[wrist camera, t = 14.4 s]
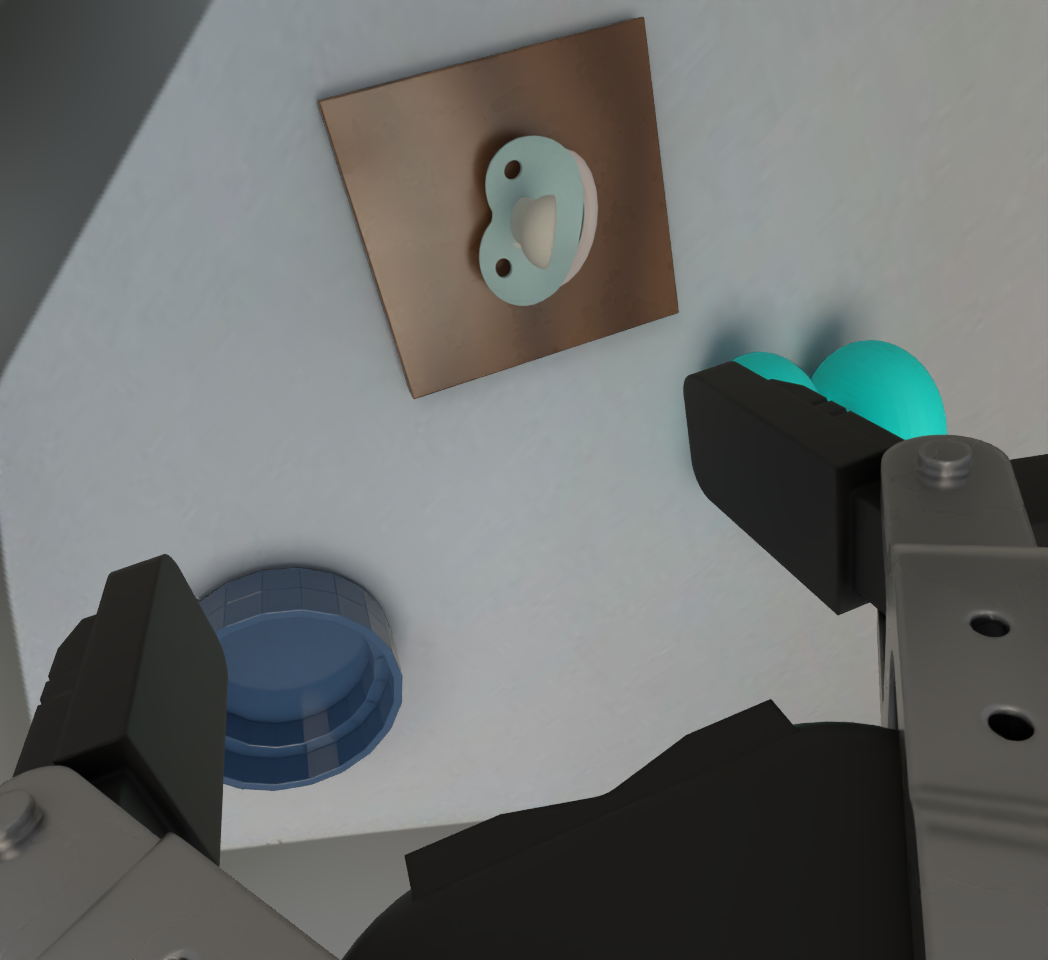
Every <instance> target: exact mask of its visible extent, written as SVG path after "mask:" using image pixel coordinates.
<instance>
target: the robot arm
mask: <svg viewBox="0 0 1048 960" xmlns="http://www.w3.org/2000/svg"><path fill="white" fill-rule="evenodd" d="M683 392H684V401H685V410H686V418H687V426H688V435H689V443H690V452H691V460H692V466H693V470H694V473H695V476H696V479H697V481H698V484H699V486H700V488H701V489H702V491H703V492H704V494H705V495H706V497H707V498H708V499H709V500H710V501H711V502H712V503H714V504H715V505H716V506H717V507H718V508H719V509H720V510H721V511H722V512H724V513H725V514H726V515H727V516H728V517H729V518H730V519H731V520H732V521H734V522H735V523H736V524H737V525H738V526H739V527H740V528H741V529H742V530H744V531H745V532H746V533H747V534H748V535H749V536H750V537H751V538H752V539H754V540H755V541H756V542H757V543H758V544H759V545H760V546H761V547H762V548H764V549H765V550H766V551H767V552H768V553H769V554H770V555H771V556H772V557H774V558H775V559H776V560H777V561H778V562H779V563H780V564H781V565H782V566H784V567H785V568H786V569H787V570H788V571H789V572H790V573H791V574H792V575H794V576H795V577H796V578H797V579H798V580H799V581H800V582H801V583H802V584H804V585H805V586H806V587H807V588H808V589H809V590H810V591H811V592H812V593H814V594H815V595H816V596H817V597H818V598H819V599H820V600H821V601H822V602H824V603H825V604H826V605H827V606H828V607H829V608H830V609H831V610H832V611H834V612H835V613H836V614H837V615H840V614H843V613H845V612H848V611H850V610H852V609H855V608H857V607H860V606H862V605H864V604H867V603H869V602H870V603H871V604H873V605H874V606H875V607H876V608H877V644H878V667H879V689H880V712H881V727H880V726H876V725H869V724H861V723H853V722H814V723H801V724H795V725H793V724H792V723H791V722H790V721H789V720H788V718H787V717H786V716H785V715H784V714H783V713H782V711H781V710H780V709H779V708H778V707H777V706H776V704H775V703H774V702H773V701H772V700H771V699H770V700H767V701H765V702H763V703H760V704H758V705H756V706H753V707H751V708H749V709H746V710H744V711H742V712H739V713H737V714H735V715H732V716H730V717H728V718H725V719H723V720H721V721H718V722H716V723H714V724H711V725H709V726H706V727H704V728H702V729H699V730H697V731H695V732H692V733H690V734H688V735H686V736H685V737H683V738H682V739H680V740H679V741H678V742H676V743H675V744H674V745H672V746H671V747H670V748H668V749H667V750H666V751H664V752H663V753H662V754H660V755H659V756H658V757H656V758H655V759H654V760H652V761H651V762H650V763H648V764H647V765H646V766H644V767H643V768H642V769H640V770H639V771H638V772H636V773H635V774H634V775H632V776H631V777H630V778H628V779H627V780H626V781H624V782H623V783H622V784H620V785H619V786H618V787H616V788H615V789H613V790H612V791H610V792H609V793H606V794H604V795H601V796H598V797H593V798H588V799H582V800H577V801H571V802H566V803H560V804H555V805H549V806H544V807H538V808H533V809H527V810H522V811H516V812H511V813H506V814H500V815H498V816H495V817H493V818H491V819H488V820H486V821H484V822H481V823H479V824H477V825H475V826H472V827H470V828H467V829H465V830H463V831H460V832H458V833H456V834H454V835H451V836H449V837H446V838H444V839H442V840H439V841H437V842H435V843H432V844H430V845H427V846H425V847H423V848H420V849H419V850H416V851H413V852H411V853H409V854H406V855H405V860H406V865H407V871H408V876H409V881H410V886H411V890H409V891H408V892H406V893H405V894H404V895H402V896H401V897H400V898H399V899H397V900H396V901H395V902H394V903H393V904H391V905H390V906H389V907H388V908H387V909H386V910H385V911H384V912H383V913H381V914H380V915H379V916H378V917H377V918H376V919H375V920H374V921H373V923H371V925H370V926H369V927H368V928H367V929H366V930H365V931H364V932H363V933H362V934H361V936H360V937H359V938H358V939H357V940H356V942H354V944H353V945H352V947H351V948H350V949H349V950H348V952H347V953H346V954H345V956H344V957H343V958H342V960H1048V454H1045V455H1038V456H1032V457H1025V458H1019V459H1012V460H1009V458H1008V457H1007V455H1006V454H1005V453H1004V452H1003V451H1001V450H1000V449H998V448H997V447H995V446H993V445H991V444H989V443H986V442H984V441H981V440H978V439H974V438H970V437H964V436H957V435H927V436H920V437H915V438H911V439H907V440H904V439H903V438H901V437H899V436H897V435H895V434H893V433H891V432H890V431H888V430H886V429H884V428H882V427H880V426H878V425H877V424H875V423H873V422H871V421H869V420H867V419H865V418H864V417H862V416H860V415H858V414H856V413H854V412H852V411H848V412H847V411H846V408H845V407H843V406H841V405H839V404H837V403H836V402H834V401H832V400H831V401H828V400H827V398H826V397H824V396H823V395H821V394H819V393H817V392H815V391H813V390H811V389H810V388H808V387H806V386H804V385H800V384H795V383H790V382H785V381H781V380H776V379H770V380H767V379H766V378H764V377H762V376H760V375H759V374H757V373H755V372H753V371H751V370H750V369H748V368H746V367H744V366H743V365H741V364H739V363H737V362H735V361H729V362H726V363H723V364H720V365H717V366H714V367H712V368H709V369H706V370H703V371H700V372H697V373H694V374H691V375H688V376H687V377H686V379H685V381H684V387H683ZM48 677H49V680H50V681H48V682H46V684H45V687H44V690H43V692H42V695H41V698H40V701H41V705H38V707H37V709H36V712H35V715H34V718H33V721H32V724H31V726H30V729H29V733H28V735H27V738H26V741H25V743H24V746H23V749H22V752H21V755H20V757H19V760H18V763H17V766H16V769H15V772H14V775H13V778H11V779H9V780H7V781H6V782H4V783H2V784H1V785H0V960H339V959H338V958H337V957H335V956H334V955H333V954H331V953H330V952H329V951H328V950H326V949H325V948H324V947H322V946H321V945H320V944H318V943H317V942H316V941H314V940H313V939H312V938H311V937H309V936H308V935H307V934H305V933H304V932H303V931H302V930H300V929H299V928H298V927H296V926H295V925H294V924H292V923H291V922H290V921H288V920H287V919H286V918H284V917H283V916H282V915H281V914H279V913H278V912H277V911H276V910H274V909H273V908H272V907H270V906H269V905H268V904H266V903H265V902H264V901H262V900H261V899H260V898H259V897H257V896H256V895H254V894H253V893H252V892H251V891H249V890H248V889H247V888H245V887H244V886H243V885H242V884H240V883H239V882H238V881H237V880H235V879H234V878H232V877H231V876H230V875H229V874H227V873H226V872H225V871H224V870H222V869H221V868H220V867H219V864H220V842H221V820H222V798H223V777H224V755H225V733H226V711H227V690H228V670H227V664H226V659H225V656H224V652H223V649H222V646H221V644H220V641H219V639H218V637H217V635H216V633H215V631H214V629H213V628H212V626H211V624H210V622H209V620H208V619H207V617H206V615H205V613H204V612H203V610H202V608H201V606H200V604H199V603H198V601H197V599H196V597H195V595H194V594H193V592H192V590H191V588H190V586H189V585H188V583H187V581H186V579H185V578H184V576H183V574H182V572H181V570H180V569H179V567H178V565H177V564H176V562H175V561H174V560H173V559H172V558H171V557H170V556H169V555H167V554H163V555H160V556H157V557H154V558H152V559H149V560H146V561H143V562H140V563H137V564H134V565H131V566H128V567H125V568H122V569H120V570H117V571H114V572H111V573H110V574H109V576H108V578H107V581H106V585H105V588H104V591H103V594H102V598H101V601H100V604H99V608H98V611H97V614H96V615H93V616H90V617H87V618H85V619H82V620H81V621H80V622H79V624H78V625H77V626H76V627H75V629H74V630H73V631H72V632H71V633H70V635H69V636H68V637H67V638H66V639H65V641H64V642H63V643H62V644H61V646H60V647H59V648H58V650H57V653H56V656H55V658H54V661H53V664H52V667H51V670H50V673H49V675H48Z"/></svg>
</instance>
